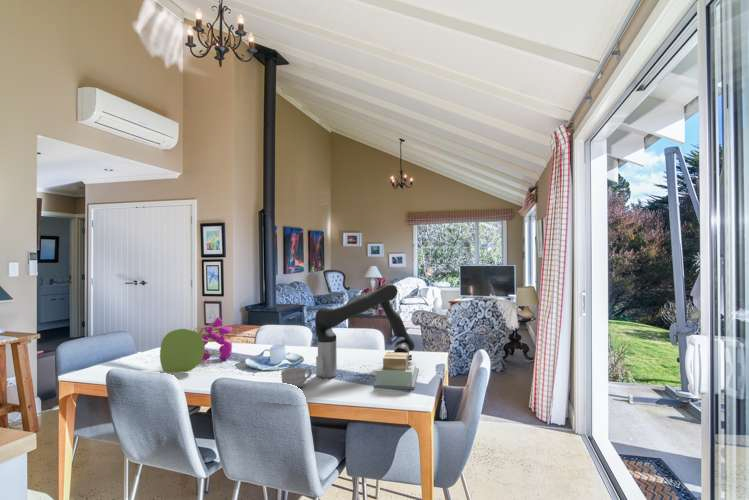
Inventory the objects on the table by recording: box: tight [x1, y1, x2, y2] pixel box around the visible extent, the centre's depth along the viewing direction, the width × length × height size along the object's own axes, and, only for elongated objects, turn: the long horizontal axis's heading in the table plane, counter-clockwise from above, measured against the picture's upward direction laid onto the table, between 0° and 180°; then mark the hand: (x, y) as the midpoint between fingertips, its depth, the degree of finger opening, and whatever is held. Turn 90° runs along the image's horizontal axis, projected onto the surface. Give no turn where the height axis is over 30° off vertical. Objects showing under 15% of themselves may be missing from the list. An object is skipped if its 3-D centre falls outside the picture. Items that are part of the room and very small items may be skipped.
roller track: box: [373, 364, 420, 390], centre depth 205 cm, size 30×18×8 cm, turn 170°
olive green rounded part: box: [159, 317, 233, 373], centre depth 238 cm, size 30×28×35 cm
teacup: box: [280, 367, 313, 389], centre depth 195 cm, size 14×11×8 cm
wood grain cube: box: [382, 351, 410, 370], centre depth 199 cm, size 12×10×11 cm
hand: (397, 361), depth 205 cm, fingers closed
